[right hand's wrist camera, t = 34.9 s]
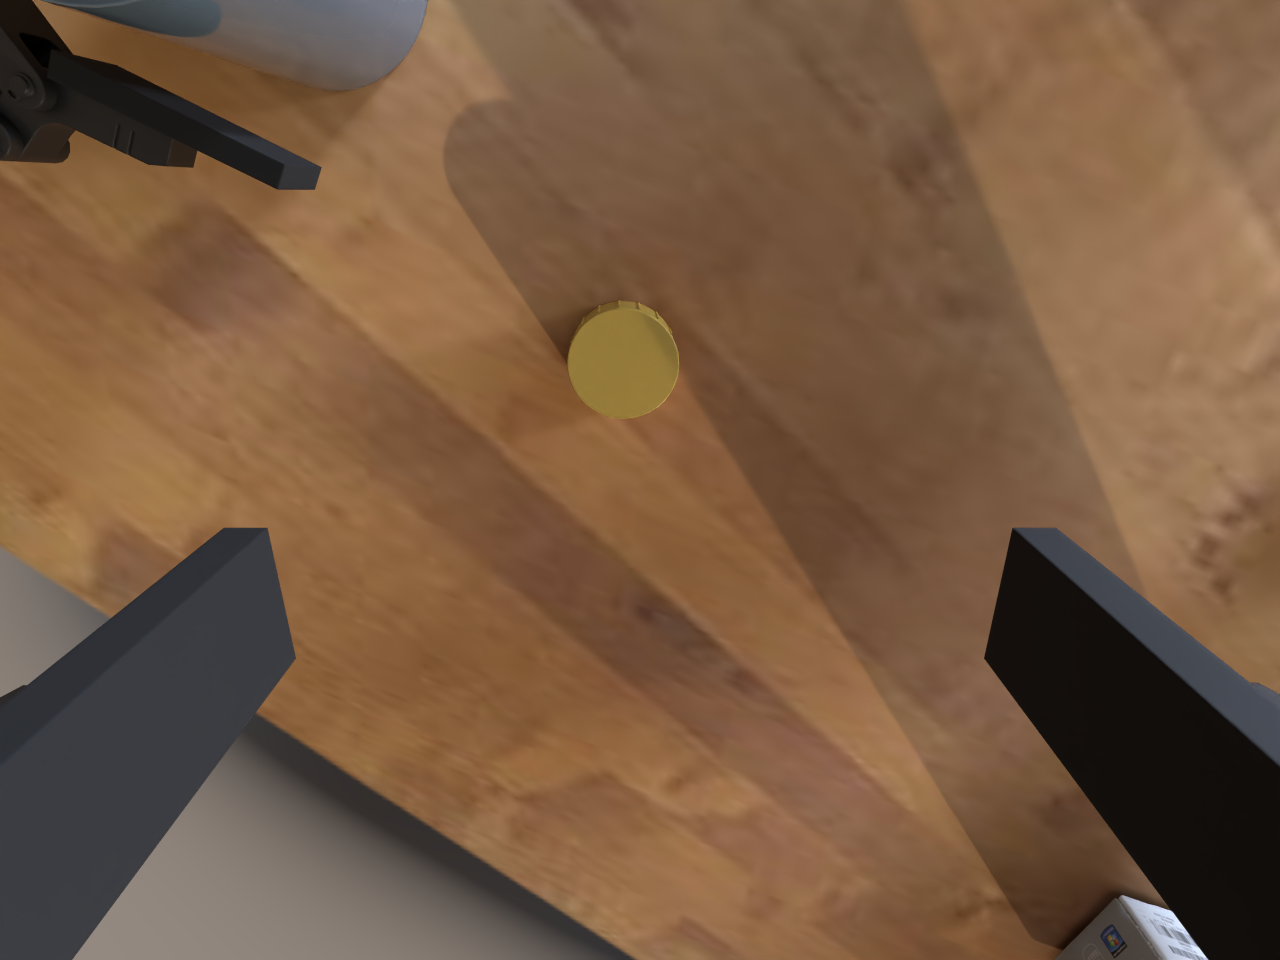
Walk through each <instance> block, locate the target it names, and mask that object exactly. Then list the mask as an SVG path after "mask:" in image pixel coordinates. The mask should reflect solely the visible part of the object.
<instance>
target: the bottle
mask: <svg viewBox="0 0 1280 960" xmlns="http://www.w3.org/2000/svg"><path fill="white" fill-rule="evenodd" d="M42 1H45V2H48V3H51V4H54V5H57V6H60V7H63V8H66V9H70V10H73V11H76V12H79V13H82V14H85V15H88V16H91V17H94V18H97V19H100V20H103V21H106V22H109V23H113V24H116V25H119V26H122V27H125V28H128V29H131V30H134V31H137V32H140V33H143V34H146V35H149V36H152V37H156V38H159V39H162V40H165V41H168V42H171V43H174V44H177V45H180V46H183V47H186V48H189V49H192V50H196V51H199V52H202V53H205V54H208V55H211V56H214V57H217V58H220V59H223V60H226V61H229V62H232V63H235V64H239V65H242V66H245V67H248V68H251V69H254V70H257V71H260V72H263V73H266V74H269V75H272V76H275V77H278V78H282V79H285V80H288V81H291V82H294V83H297V84H300V85H303V86H306V87H309V88H313V89H319V90H324V91H345V90H353V89H356V88H360V87H364V86H367V85H369V84H371V83H373V82H376V81H378V80H379V79H381V78H382V77H384V76H385V75H387V74H388V73H389V72H391V71H392V70H393V69H394V68H395V67H396V66H397V65H398V64H399V63H400V62H401V61H402V60H403V58H404V57H405V56H406V55H407V54H408V52H409V50H410V49H411V47H412V45H413V44H414V42H415V40H416V38H417V36H418V33H419V31H420V29H421V26H422V22H423V19H424V16H425V12H426V6H427V0H42Z"/></svg>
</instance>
